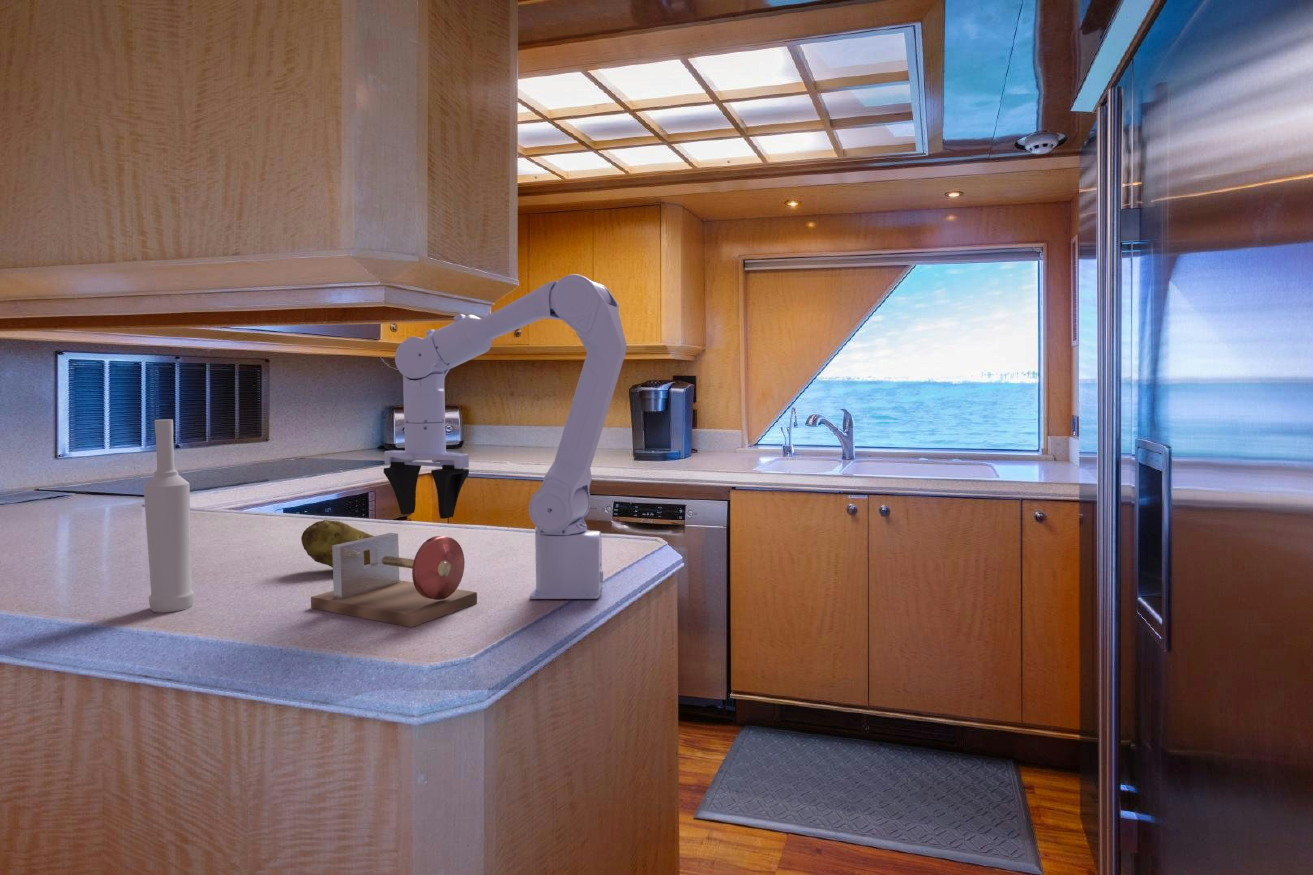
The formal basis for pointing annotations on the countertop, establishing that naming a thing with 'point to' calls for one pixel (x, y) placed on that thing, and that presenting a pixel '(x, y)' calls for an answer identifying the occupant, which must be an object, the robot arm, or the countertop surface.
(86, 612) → the countertop surface
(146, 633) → the countertop surface
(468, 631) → the countertop surface
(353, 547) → the eye plate
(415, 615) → the base board
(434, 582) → the copper disc on rod
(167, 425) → the bottle
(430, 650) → the countertop surface
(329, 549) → the potato
